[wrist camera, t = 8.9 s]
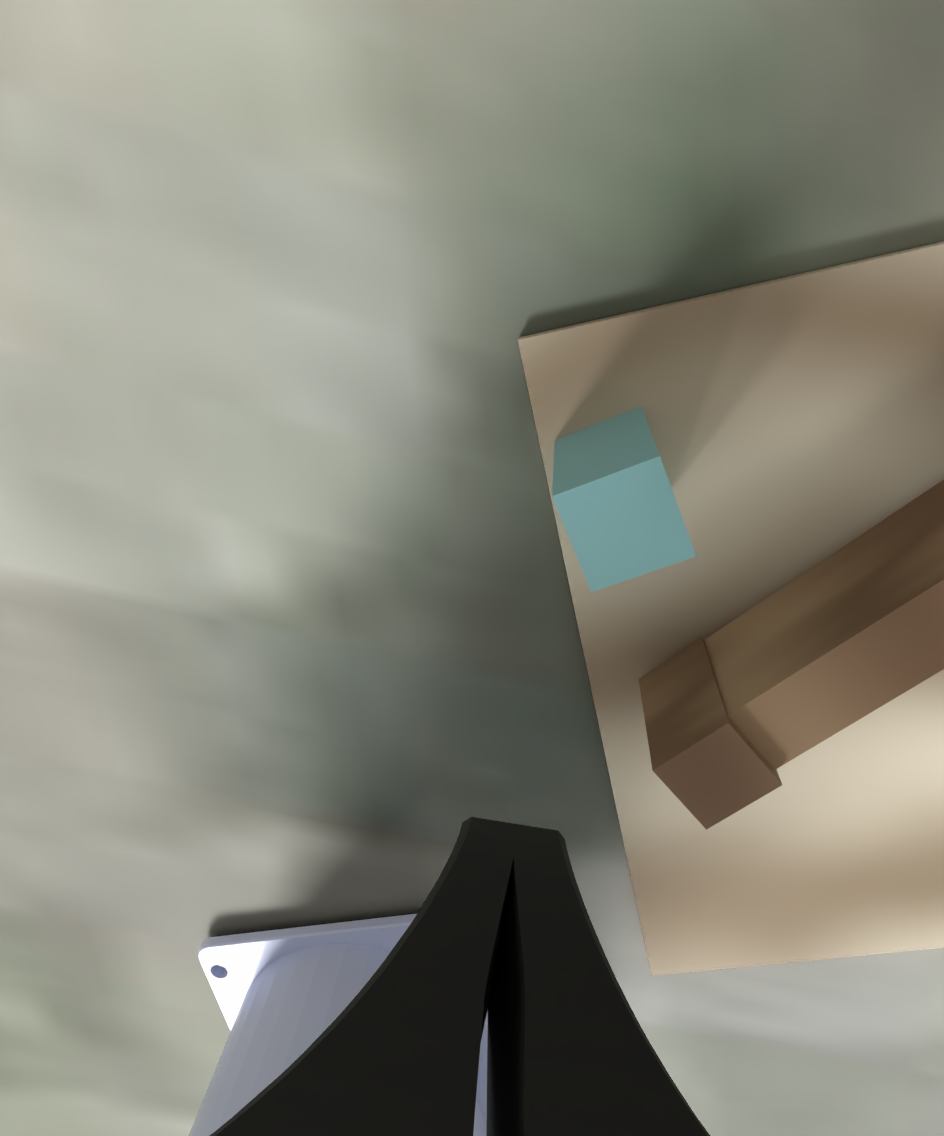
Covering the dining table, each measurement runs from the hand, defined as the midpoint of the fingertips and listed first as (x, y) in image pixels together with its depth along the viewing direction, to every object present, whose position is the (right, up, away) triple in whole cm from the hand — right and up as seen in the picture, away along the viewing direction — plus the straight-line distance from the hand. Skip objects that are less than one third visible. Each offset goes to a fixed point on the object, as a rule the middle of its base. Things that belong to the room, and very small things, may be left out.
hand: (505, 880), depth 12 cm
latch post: (+3, +7, +8) cm, 11 cm away
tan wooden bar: (+8, +4, +7) cm, 12 cm away
